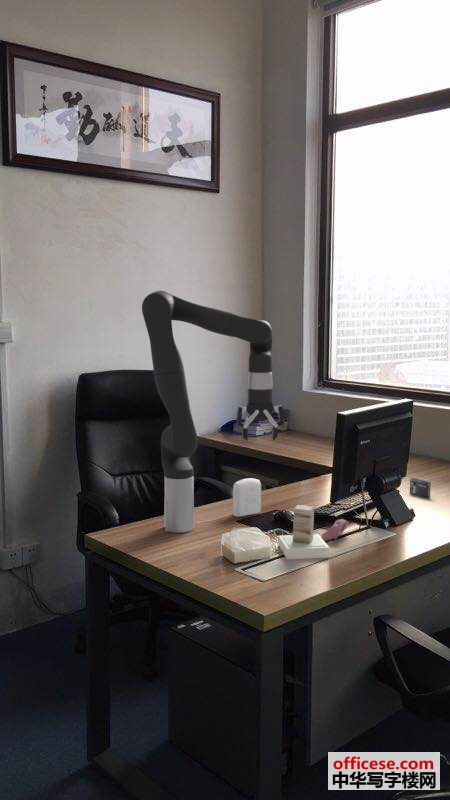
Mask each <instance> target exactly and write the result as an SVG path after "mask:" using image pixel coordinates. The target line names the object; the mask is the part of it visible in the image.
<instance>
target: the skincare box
mask: <svg viewBox="0 0 450 800" xmlns="http://www.w3.org/2000/svg"><path fill="white" fill-rule="evenodd" d="M314 519H315V506H312V505H307V504H306V505H305V504H304V505H303V504H297V505H295V506H294V508H293V522H292V524H293V525H292V526H293V527H292V535H293V542H298V543H305V544H309V543H310V542H311V541H312V540H313V534H314V523H315V520H314Z"/></svg>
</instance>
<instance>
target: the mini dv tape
mask: <svg viewBox="0 0 450 800" xmlns="http://www.w3.org/2000/svg"><path fill="white" fill-rule="evenodd" d="M431 484H432V482H431V481H428V480H424V479H421V478H420V479H419V478H416V477H410V480H409V494H410V495H414V496H418V497H422V498H424V499H429V498H431Z"/></svg>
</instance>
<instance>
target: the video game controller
mask: <svg viewBox="0 0 450 800" xmlns="http://www.w3.org/2000/svg"><path fill="white" fill-rule="evenodd" d="M349 524H350V522H349V521H348V520H346V519H344V518H341V519H336V520H335V521H334V524H333V525H331V527H330V528H329V529H328V530H327V531H325V532H323V533H322V535H321V536H320V537H321V538H322V539H323V540H324V542H325V541H327V542H328V541H330V540H332V539H333V540H334V541H335V540H337V539H338V538H340V537H341V536H343V533H344V531H345V530H346V529H347V528H348V526H349Z"/></svg>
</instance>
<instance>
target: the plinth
mask: <svg viewBox="0 0 450 800" xmlns="http://www.w3.org/2000/svg"><path fill="white" fill-rule="evenodd" d="M321 537H322V536H321V535H319V533H313V540H312V541H311V542H310V543H309V544H305V543H298V542H293V534H288V535H287V534H286V535H285V534H284V535H278V546H280V547H279V548H280V550H281V552H282V551H283V552H282V553H283V555H284V556H285V558H286V559H287V560H302V559H303V560H305V559H306V560H307V559H323V558H324V559H325V558H330V546H329V545H328V544H327V542H325V541H324V540H323V539H322V538H321Z"/></svg>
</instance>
